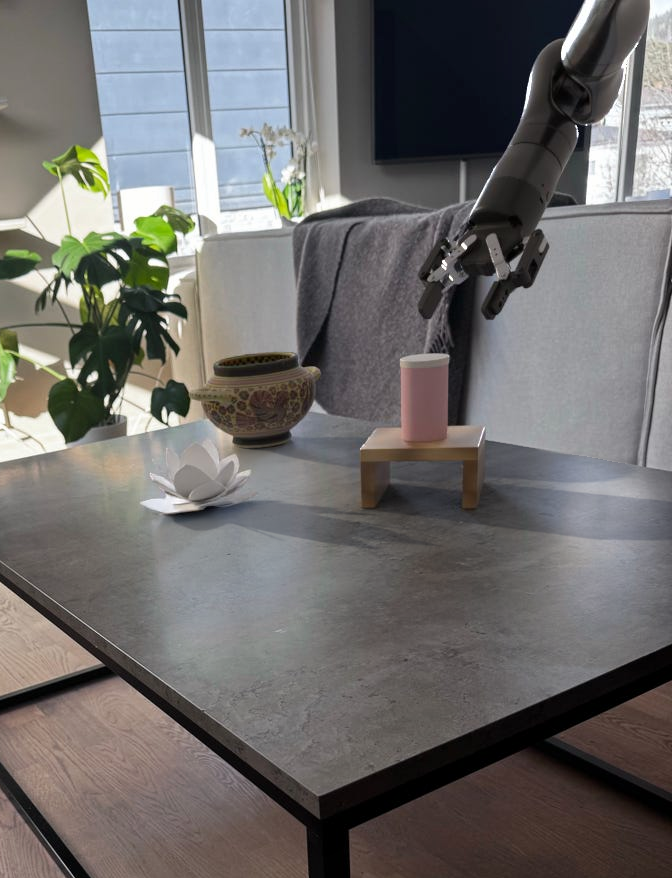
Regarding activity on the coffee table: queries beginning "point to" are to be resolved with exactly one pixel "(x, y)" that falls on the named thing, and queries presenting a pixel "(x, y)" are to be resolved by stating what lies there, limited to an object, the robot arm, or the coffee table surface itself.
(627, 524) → the coffee table surface
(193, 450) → the lotus flower
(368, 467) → the shelf stand
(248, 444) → the ceramic bowl
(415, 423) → the tube
